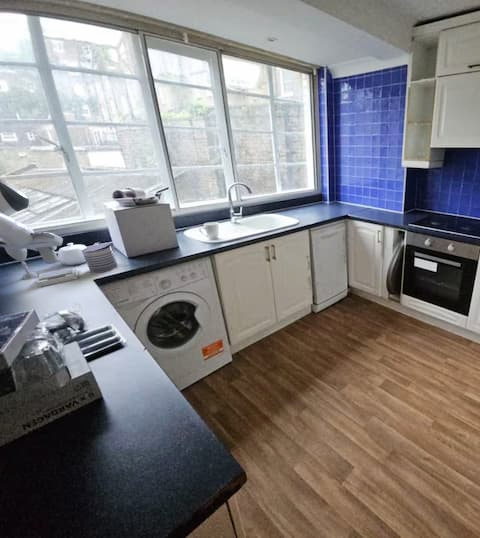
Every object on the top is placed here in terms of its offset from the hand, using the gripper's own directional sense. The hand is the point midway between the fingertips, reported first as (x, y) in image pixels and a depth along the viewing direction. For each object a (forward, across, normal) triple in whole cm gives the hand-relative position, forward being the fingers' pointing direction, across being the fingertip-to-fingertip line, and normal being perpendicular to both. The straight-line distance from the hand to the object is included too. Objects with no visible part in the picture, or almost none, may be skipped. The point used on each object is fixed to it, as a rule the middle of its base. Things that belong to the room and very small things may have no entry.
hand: (46, 248), depth 135 cm
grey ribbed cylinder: (+16, -15, +5) cm, 22 cm away
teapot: (+26, +5, -5) cm, 27 cm away
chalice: (+14, +16, +7) cm, 22 cm away
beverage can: (+4, 0, +5) cm, 7 cm away
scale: (+9, 0, +11) cm, 15 cm away
